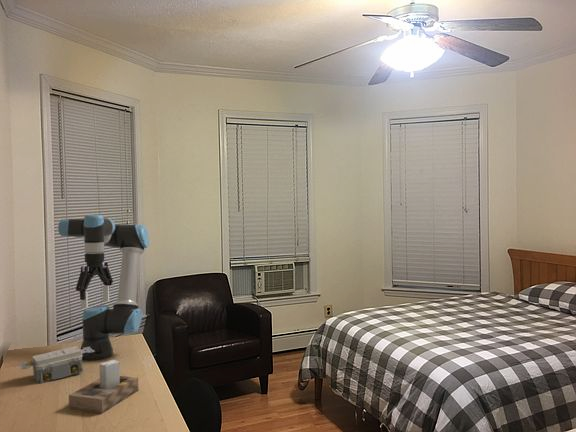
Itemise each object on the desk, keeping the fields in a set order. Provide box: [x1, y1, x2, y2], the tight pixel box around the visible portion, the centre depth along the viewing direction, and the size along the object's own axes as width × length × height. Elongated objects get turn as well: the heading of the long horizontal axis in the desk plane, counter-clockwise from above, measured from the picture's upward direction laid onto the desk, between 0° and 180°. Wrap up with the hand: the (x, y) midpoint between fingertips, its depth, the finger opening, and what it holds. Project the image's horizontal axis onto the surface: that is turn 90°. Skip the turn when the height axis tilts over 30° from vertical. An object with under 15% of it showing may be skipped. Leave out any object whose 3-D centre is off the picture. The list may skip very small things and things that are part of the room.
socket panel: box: [68, 375, 139, 415], centre depth 190 cm, size 22×14×5 cm, turn 163°
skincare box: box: [99, 359, 121, 390], centre depth 192 cm, size 6×4×12 cm
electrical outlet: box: [18, 345, 94, 384], centre depth 215 cm, size 12×28×10 cm, turn 127°
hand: (95, 304), depth 208 cm, fingers open, 13 cm apart
